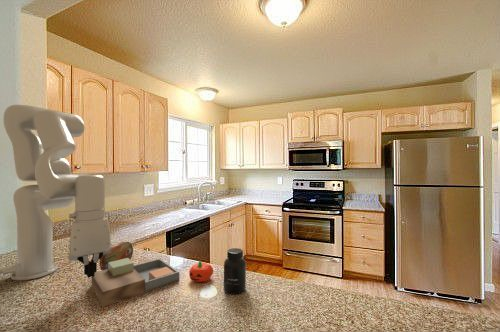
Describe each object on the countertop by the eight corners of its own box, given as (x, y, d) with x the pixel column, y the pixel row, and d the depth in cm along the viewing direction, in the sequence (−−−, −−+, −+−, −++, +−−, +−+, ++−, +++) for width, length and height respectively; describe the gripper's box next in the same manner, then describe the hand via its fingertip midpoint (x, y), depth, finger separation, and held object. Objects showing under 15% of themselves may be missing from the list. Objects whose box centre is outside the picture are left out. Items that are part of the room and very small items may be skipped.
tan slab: (102, 306, 65) (102, 292, 65) (91, 285, 77) (91, 273, 77) (144, 292, 73) (144, 279, 73) (128, 275, 85) (128, 263, 85)
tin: (105, 276, 84) (105, 251, 84) (97, 275, 85) (97, 251, 85) (133, 259, 99) (133, 239, 99) (127, 259, 100) (127, 238, 100)
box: (145, 292, 73) (145, 282, 73) (129, 275, 85) (129, 266, 85) (179, 280, 80) (179, 271, 80) (160, 266, 92) (160, 258, 92)
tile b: (113, 276, 75) (113, 268, 75) (108, 270, 79) (108, 262, 80) (133, 270, 79) (133, 262, 79) (128, 265, 84) (128, 257, 84)
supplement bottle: (228, 297, 70) (228, 255, 70) (220, 287, 76) (220, 249, 76) (249, 291, 73) (249, 252, 73) (240, 282, 79) (240, 245, 79)
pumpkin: (214, 283, 79) (215, 265, 79) (189, 287, 77) (189, 268, 76) (211, 272, 86) (211, 254, 85) (188, 275, 84) (188, 257, 83)
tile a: (174, 272, 80) (174, 279, 80) (166, 266, 84) (166, 273, 84) (155, 277, 76) (155, 285, 76) (148, 271, 80) (148, 279, 80)
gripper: (60, 221, 66) (60, 288, 66) (120, 213, 76) (120, 272, 76) (58, 217, 71) (58, 279, 71) (114, 210, 81) (114, 265, 81)
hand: (90, 275), depth 74 cm, fingers closed
